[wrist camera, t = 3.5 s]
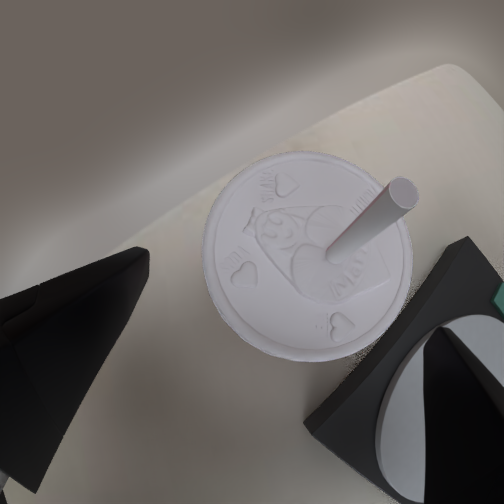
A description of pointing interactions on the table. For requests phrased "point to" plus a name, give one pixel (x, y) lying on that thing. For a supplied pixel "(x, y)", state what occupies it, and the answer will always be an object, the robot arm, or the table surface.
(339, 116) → the table surface
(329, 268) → the smoothie
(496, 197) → the table surface
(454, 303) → the scale
